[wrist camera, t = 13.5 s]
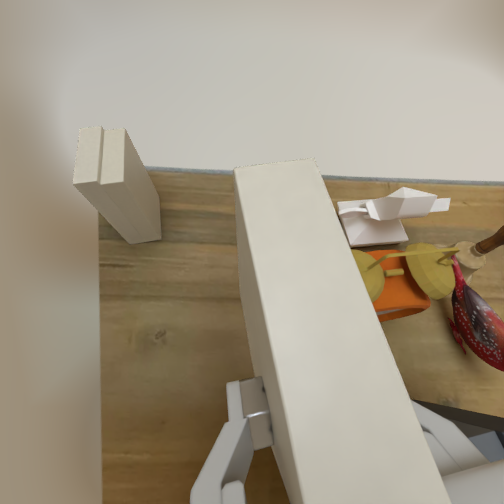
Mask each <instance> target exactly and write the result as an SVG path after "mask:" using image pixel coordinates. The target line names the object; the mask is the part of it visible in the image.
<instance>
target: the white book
mask: <svg viewBox="0 0 504 504" xmlns="http://www.w3.org/2000/svg"><path fill="white" fill-rule="evenodd" d="M233 174H234V193H235V211H236V230H237V248H238V267H239V285H240V296H241V302H242V308H243V313H244V319H245V325H246V330H247V336H248V342H249V347H250V353H251V359H252V365H253V370H254V376H255V377H258V376H262V379H263V383H264V389H265V393H266V395H267V400H268V404H269V408H270V413H271V421H272V431H273V437H274V445H273V446H271V447H272V450H273V453H274V456H275V459H276V462H277V465H278V468H279V471H280V474H281V477H282V480H283V483H284V486H285V489H286V492H287V495H288V498H289V501H290V504H452V503H451V500H450V498H449V495H448V493H447V490H446V488H445V485H444V483H443V480H442V478H441V475H440V473H439V470H438V468H437V465H436V463H435V460H434V458H433V455H432V453H431V450H430V448H429V445H428V443H427V440H426V438H425V435H424V433H423V430H422V428H421V425H420V423H419V420H418V418H417V415H416V413H415V410H414V407H413V405H412V402H411V400H410V397H409V395H408V392H407V390H406V387H405V385H404V382H403V380H402V377H401V375H400V372H399V370H398V367H397V365H396V362H395V360H394V357H393V355H392V352H391V350H390V347H389V345H388V342H387V340H386V337H385V335H384V332H383V330H382V327H381V325H380V322H379V320H378V317H377V315H376V312H375V309H374V307H373V304H372V302H371V299H370V297H369V294H368V292H367V289H366V287H365V284H364V282H363V279H362V277H361V274H360V272H359V269H358V267H357V264H356V262H355V259H354V257H353V254H352V252H351V249H350V247H349V244H348V242H347V239H346V237H345V234H344V232H343V229H342V227H341V224H340V222H339V219H338V217H337V214H336V211H335V209H334V206H333V204H332V201H331V199H330V196H329V194H328V191H327V189H326V186H325V184H324V181H323V179H322V176H321V174H320V171H319V169H318V166H317V164H316V161H315V159H314V158H309V159H300V160H292V161H284V162H276V163H268V164H259V165H251V166H243V167H236V168H234V170H233Z"/></svg>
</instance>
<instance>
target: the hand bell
mask: <svg viewBox="0 0 504 504" xmlns="http://www.w3.org/2000/svg"><path fill="white" fill-rule="evenodd" d="M503 244H504V226H502V227H501V228H500V229H499V230H498V232H497V233H495V234H494V235H493V236H491V237H489V238H487V239H485V240H483V241H481V242H479V243H477V244H474V243H471V242H467V241H463V242H459V243H456V244H454V245H451V246H446V245H433V246H435V247H436V248H437V249H442V248H452V247H458V249H459V250H460V251H459V252H457V253H456V254H454V255H455V257H456V260H457V262H458V265H459V267H460V270H461V272H462V275H463V277H464V280H465V282H466V284H467V285H469V284H470V282H471V280H472V276H473V273H474V272H475V271H476V270H478V269H480V268H481V267H483V266H484V265H485V263H486V255H485V254H486V253H488V252H490V251H492V250H493V249H495V248H497V247H499V246H501V245H503ZM450 252H451V251H448V252H442V253H443V254H444V255H446V254H448V253H450ZM450 259H451V256H450V257H448V258H447V260H450ZM451 267H452V265H451ZM452 269H453V268H452ZM453 290H454V289H453ZM453 290H452V292H453Z"/></svg>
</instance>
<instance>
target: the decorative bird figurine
mask: <svg viewBox="0 0 504 504" xmlns="http://www.w3.org/2000/svg"><path fill="white" fill-rule="evenodd" d="M451 252H452V251H451ZM451 259H452V260H453V261H454V264H452V268H453V272H454V276H455V287H454V290H453V294H452V306H453V317H454V322H455V326H454V323H453V321H452V320H451V319H450V318H448V319H449V320H450V321H451V323H452V324H451V323H450V326H451V328H452V331H453V333H454V337H455V339H456V341H457V342H458V343H459V344H460V346H461V347H462V349H463V351H464V353H465V355H466V351H465V349H464V348H463V346H462V342H463V341H462V339H461V337H462V338H463V340H464V341H465V343H466V344H467V345H468V347H469V348H470V349H471V350H472V351H473V352H474V353H475V354H476V355H477V356H478V357H479V358H481V359H482V360H483V361H485V362H486V363H487V364H489V365H491V366H493V367H494V368H496V369H498V370H501V371H504V322H503V321H502V320H501V319H500V317H499V316H498V315H497V314H496V313H495V311H494V310H493V309H492V308H491V307H490V306H489V305H488V304H487V303H486V302H485V300H484V299H482V298H481V297H480V296H479V295H478V294H477V293H476V292H475V291H474V290H473V289H471V288H470V287H469V286H468V285H467V284H466V282H465V280H464V277H463V275H462V272H461V270H460V267H459V265H458V262H457V260H456V257H455V255H452V256H451ZM459 333H460V335H461V337H460V335H459Z"/></svg>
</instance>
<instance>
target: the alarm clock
mask: <svg viewBox="0 0 504 504" xmlns="http://www.w3.org/2000/svg"><path fill="white" fill-rule="evenodd" d="M448 251H452V252H450V253H448V254H446V255H444V254H443V253H442V252H448ZM459 251H460V250H459V249H458V247H452V248H442V249H437V248H436V247H435V246H433V245H431V244H427V243H415V244H410V245H408V246H407V247H406V251H399V250H377V251H371V252H362V251H360V250H353V249H351V252H352V254H353V257H354V259H355V262H356V264H357V267H358V269H359V272H360V274H361V277H362V279H363V282H364V284H365V287H366V289H367V292H368V294H369V297H370V299H371V302H372V304H373V307H374V309H375V312H376V315H377V317H378V320H379V322H382V321H387V320H392V319H397V318H401V317H405V316H409V315H413V314H416V313H419V312H422V311H424V310H426V309H427V308H429V307H430V304H431V302H430V299H429V297H431V298H433V299H436V300H438V299H441V298H443V297H445V296H447V295H449V294H450V293H451V292H452V290H453V289H454V287H455V276H454V272H453V269H452V267H451V265H452V264H454V261H453V260H452V259H450V260H447V258H448V257H450V256H452V255H454V254H456V253H457V252H459ZM428 296H429V297H428Z"/></svg>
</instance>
